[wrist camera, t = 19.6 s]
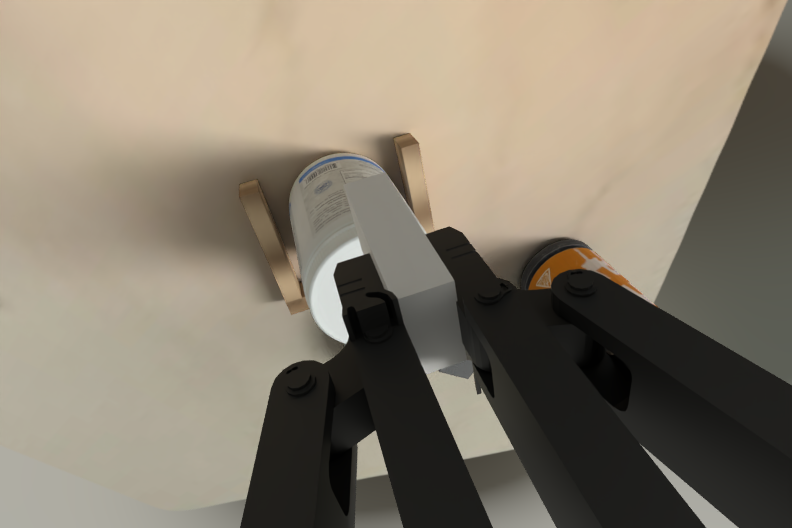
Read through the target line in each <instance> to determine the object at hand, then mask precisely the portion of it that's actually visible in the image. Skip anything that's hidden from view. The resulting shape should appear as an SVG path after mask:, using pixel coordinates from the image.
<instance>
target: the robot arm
mask: <svg viewBox="0 0 792 528" xmlns="http://www.w3.org/2000/svg"><path fill="white" fill-rule="evenodd" d="M343 186H344V189H345V193H346V196H347V200H348V203H349V207H350V210H351V214H352V217H353V221H354V224H355V228H356V231H357V235H358V238H359V242H360V245H361V249H362V252H363V254H364V255H362V256H358V257H355V258H352V259H349V260H346V261H343V262H340V263H337V265H336V268H335V271H334V274H333V276H334V280H335V283H336V287H337V290H338V294H339V298H340V301H341V305H342V318H343V321H344V324H345V327H346V329H347V332H348V335H349V337H348V341H347V343H346V345H345V347H344V348H343V349H342V350H341V352H340V353H339V354H338V355H336V356H335V357H334V358H332V359H331V360H329V361H328V362H326V363H325V364H322V363H319V362H317V361H314V360H309V361H301V362H297V363H294V364H292V365H290V366H289V367H287V368H285V369H284V370H283V371H282V372H281V373H280V374H279V375H278V376H277V377H276V378H275V380H274V383H273V385H272V387H271V391H270V396H269V400H268V405H267V409H266V414H265V418H264V423H263V427H262V432H261V436H260V441H259V445H258V450H257V454H256V459H255V463H254V468H253V472H252V477H251V481H250V486H249V490H248V495H247V499H246V504H245V509H244V513H243V518H242V522H241V526H240V528H355V501H356V476H357V449H358V447H357V443H358V442H360V441H361V440H362V439H364V438H365V437H367V436H368V435H369V434H371V433H372V432H373V431H375V430H376V432H377V436H378V439H379V443H380V446H381V450H382V454H383V457H384V461H385V464H386V468H387V471H388V475H389V478H390V481H391V485H392V489H393V492H394V496H395V499H396V503H397V506H398V510H399V514H400V517H401V521H402V524H403V527H404V528H493V527H492V525H491V523H490V520H489V518H488V516H487V513H486V511H485V509H484V506H483V505H482V502H481V500H480V497H479V495H478V493H477V490H476V488H475V486H474V483H473V481H472V479H471V477H470V475H469V472H468V470H467V467H466V465H465V463H464V460H463V458H462V456H461V454H460V451H459V449H458V447H457V444H456V442H455V440H454V438H453V435H452V433H451V431H450V428H449V426H448V424H447V421H446V419H445V417H444V415H443V412H442V410H441V408H440V405H439V403H438V401H437V399H436V396H435V394H434V392H433V389H432V387H431V385H430V382H429V380H428V378H427V376H426V374H429V373H432V372H434V371H437V370H440V369H443V368H446V367H449V366H452V365H455V364H457V363H460V362H463V361H466V360H467V358H466V352H465V348H466V350H467V352H468V354H469V356H470V357H471V359H472V366H473V372H474V379H475V386H476V391H477V395H478V394H481V388H482V390H483V392H484V394H485V395H486V397H487V399H488V401H489V403H490V405H491V407H492V408H493V410H494V412H495V414H496V416H497V418H498V420H499V421H500V423H501V425H502V427H503V429H504V431H505V433H506V434H507V436H508V438H509V440H510V442H511V444H512V446H513V447H514V449H515V451H516V453H517V455H518V457H519V459H520V460H521V462H522V464H523V466H524V468H525V470H526V471H527V473H528V475H529V477H530V479H531V481H532V483H533V485H534V486H535V488H536V490H537V492H538V494H539V496H540V498H541V500H542V501H543V503H544V505H545V507H546V508H547V511H548V513H549V514H550V516H551V518H552V520H553V522H554V524H555V526H556V527H557V528H706V527H705V526H704V524H703V523H702V522H701V521H700V519H699V518H698V517H697V516H696V514H695V513H694V512H693V511H692V509H691V508H690V507H689V506H688V504H687V503H686V502H685V501H684V499H683V498H682V497H681V495H680V494H679V493H678V492H677V490H676V489H675V488H674V487H673V485H672V484H671V483H670V482H669V480H668V479H667V478H666V476H665V475H664V474H663V473H662V471H661V470H660V469H659V468H658V466H657V465H656V464H655V463H654V461H653V460H652V459H651V458H650V456H649V455H648V454H647V453H646V451H645V450H644V449H643V447H645V448H646V449H647V450H648V451H649V452H651V453H652V454H653V455H654V456H655V457H656V458H657V459H659V460H660V461H661V462H662V463H663V464H665V465H666V466H667V467H668V468H669V469H670V470H672V471H673V472H674V473H675V474H676V475H678V476H679V477H680V478H681V479H682V480H683V481H684V482H686V483H687V484H688V485H689V486H690V487H692V488H693V489H694V490H695V491H696V492H698V493H699V494H700V495H701V496H702V497H703V498H705V499H706V500H707V501H708V502H709V503H710V504H712V505H713V506H714V507H715V508H716V509H717V510H719V511H720V512H721V513H722V514H723V515H724V516H726V517H727V518H728V519H729V520H730V521H732V522H733V523H734V524H735V525H736V526H737V527H739V528H792V385H790V384H788V383H786V382H785V381H783V380H782V379H780V378H778V377H776V376H775V375H773V374H771V373H770V372H768V371H766V370H764V369H763V368H761V367H759V366H758V365H756V364H754V363H752V362H751V361H749V360H747V359H746V358H744V357H742V356H740V355H739V354H737V353H735V352H734V351H732V350H730V349H728V348H726V347H725V346H723V345H722V344H720V343H718V342H716V341H715V340H713V339H711V338H710V337H708V336H706V335H704V334H703V333H701V332H699V331H698V330H696V329H694V328H692V327H691V326H689V325H687V324H686V323H684V322H682V321H680V320H679V319H677V318H675V317H674V316H672V315H670V314H668V313H667V312H665V311H663V310H662V309H660V308H658V307H657V306H655V305H653V304H651V303H650V302H648V301H646V300H645V299H643V298H641V297H639V296H638V295H636V294H634V293H633V292H631V291H629V290H627V289H626V288H624V287H622V286H621V285H619V284H617V283H615V282H614V281H612V280H610V279H609V278H607V277H605V276H603V275H602V274H599V273H597V272H594V271H592V270H586V269H573V270H567V271H565V272H562V273H560V274H558V275H557V276H556V277H555V278H554V279H553V281H552V284H551V288H548V289H537V290H520V289H516V287H515V286H514V285H512V284H511V283H510V282H509V281H506V280H503V279H500V278H497V277H496V276H495V275H494V274H493V272H492V271H491V270H490V268H489V267H488V266H487V264H486V263H485V262H484V260H483V259H482V258H481V257H480V255H479V254H478V253H477V252H476V251H475V249H474V247H473V246H472V245H471V244H470V242H469V241H468V240H467V238H466V237H465V236H464V234H463V233H462V232H460V231H458V230H456V229H454V228H452V227H446V228H443V229H440V230H437V231H434V232H431V233H427V234H425V233H424V232H423V230H422V229H421V227H420V225H419V224H418V222H417V221H416V219H415V218H414V216H413V214H412V213H411V211H410V210H409V208H408V207H407V205H406V203H405V202H404V200H403V199H402V197H401V195H400V194H399V192H398V191H397V189H396V188H395V186H394V184H393V183H392V181H391V180H390V178H389V177H388V175H387V173H386V172H383V173H380V174H377V175H373V176H370V177H367V178H363V179H360V180H357V181H353V182H350V183H347V184H343ZM639 443H640V444H641V445H642V446H643V447H642V446H641V445H640V444H639Z"/></svg>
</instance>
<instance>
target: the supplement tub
mask: <svg viewBox="0 0 792 528" xmlns="http://www.w3.org/2000/svg"><path fill="white" fill-rule="evenodd" d="M383 172H385V171H384V170H383V169H382V168H381V167H380V166H379V165H378V164H377V163H375V162H374V161H372V160H371V159H369V158H367V157H364V156H361V155H358V154H352V153H337V154H331V155H328V156H325V157H322V158H320V159H318V160H316V161H315V162H313V163H311V164H310V165H309V166H307V167H306V168H305V169H304V170H303V171H302V172H301V174H300V175H299V176H298V178H297V179H296V181H295V183H294V185H293V187H292V189H291V193H290V197H289V215H290V221H291V226H292V231H293V236H294V242H295V247H296V252H297V257H298V263H299V268H300V274H301V279H302V284H303V289H304V294H305V298H306V301H307V304H308V307H309V308H310V311H311V314H312V317H313V319H314V321H315V322H316V324H317V325H318V326H319V328H320V329H321V330H322V331H323V332H324V333H326V334H327V335H328V336H330V337H331V338H333V339H335V340H337V341H339V342H342V343H344V344H346V343H347V341H348V337H349V335H348V332H347V329H346V327H345V324H344V321H343V318H342V305H341V301H340V298H339V294H338V290H337V287H336V283H335V280H334V276H333V274H334V271H335V268H336V265H337V263H340V262H343V261H346V260H349V259H352V258H355V257H358V256H362V255H364V254H363V252H362V249H361V245H360V242H359V238H358V235H357V231H356V228H355V224H354V221H353V217H352V214H351V210H350V207H349V203H348V200H347V196H346V193H345V189H344V186H343V184H347V183H350V182H353V181H357V180H360V179H363V178H367V177H370V176H373V175H377V174H380V173H383ZM388 177H389V176H388ZM390 180H391V179H390ZM392 183H393V182H392ZM393 184H394V183H393ZM394 186H395V185H394ZM395 188H396V186H395ZM396 189H397V188H396ZM397 191H398V189H397ZM398 192H399V191H398ZM399 194H400V192H399ZM400 195H401V194H400ZM401 197H402V195H401ZM402 199H403V200H404V198H403V197H402ZM404 202H405V203H406V201H405V200H404ZM406 205H407V207H408V208H409V210H410V211H411V213H412V214H413V216H414V218H415V219H416V221H417V222H418V224H419V225H420V227H421V229H422V230H423V232H424V233H425V234H427V233H426V231H425V230H424V228H423V227H422V225H421V224H420V222H419V221H418V219H417V218H416V216H415V215H414V213H413V212H412V210H411V209H410V207H409V206H408V204H407V203H406Z"/></svg>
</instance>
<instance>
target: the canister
mask: <svg viewBox="0 0 792 528" xmlns="http://www.w3.org/2000/svg"><path fill="white" fill-rule="evenodd" d="M573 269H586V270H592V271H594V272H597V273H599V274H602V275H603V276H605V277H607V278H609V279H610V280H612V281H614V282H615V283H617V284H619V285H621V286H622V287H624V288H626V289H627V290H629V291H631V292H633V293H634V294H636V295H638V296H639V297H641V298H643V299H645V300H646V301H648V302H650V303H651V304H653V305H655V304H654V303H653V302H652V301H650V300H649V299H648V298H647V297H646V296H645V295H644V294H642V293H641V292H640V291H639V290H638V289H637V288H636V287H634V286H633V285H632V284H631V283H630V282H629V281H628V280H626V279H625V278H624V277H623V276H622V275H621V274H620V273H618V272H617V271H616V270H615V269H614V268H613V267H612V266H610V265H609V264H608V263H607V262H606V261H605V260H604V259H602V258H601V257H600V256H599V255H598V254H597V253H596V252H594V251H593V250H592V249H591V248H590V247H589V246H588V245H586V244H585V243H583V242H581V241H578V240H562V241H559V242H555V243H553V244H551V245H549V246H547V247H545V248H544V249H542V250H541V251H540V252H538V253H537V254H536V255H535V256H534V257H533V258H532V260H531V261H530V262H529V263H528V265H527V266H526V268H525V270H524V272H523V275H522V278H521V290H537V289H548V288H551V284H552V281H553V279H554V278H555V277H556V276H557V275H558V274H560V273H562V272H565V271H567V270H573ZM655 306H656V305H655Z"/></svg>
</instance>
